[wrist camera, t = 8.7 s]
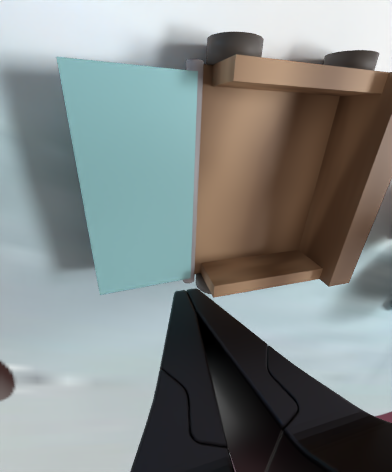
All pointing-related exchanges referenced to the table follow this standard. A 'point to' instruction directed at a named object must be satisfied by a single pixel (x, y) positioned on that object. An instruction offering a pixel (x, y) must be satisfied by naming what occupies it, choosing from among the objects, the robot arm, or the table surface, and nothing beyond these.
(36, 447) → the table surface
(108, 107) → the panel
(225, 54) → the truck bed
